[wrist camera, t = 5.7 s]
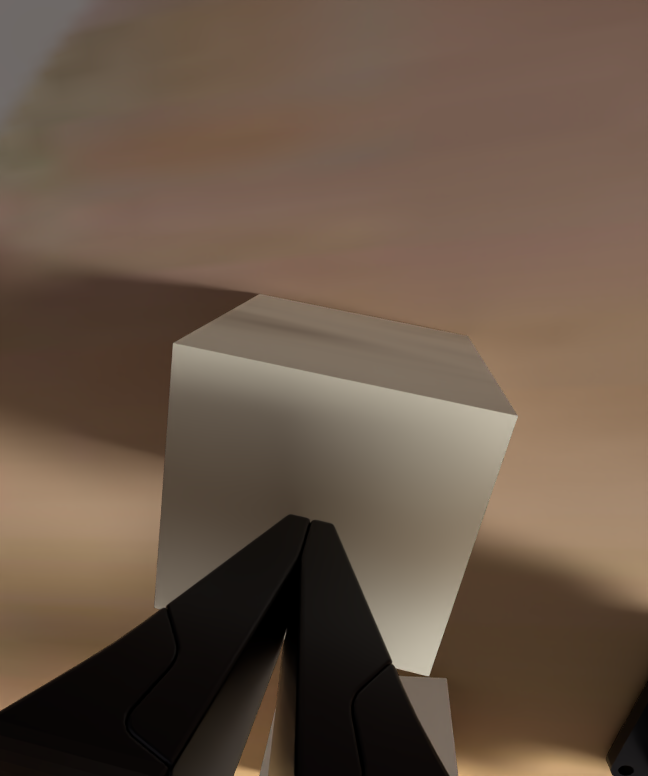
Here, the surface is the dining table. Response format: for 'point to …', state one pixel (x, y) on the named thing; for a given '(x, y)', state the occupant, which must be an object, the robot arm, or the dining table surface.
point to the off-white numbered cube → (431, 712)
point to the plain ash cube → (334, 454)
